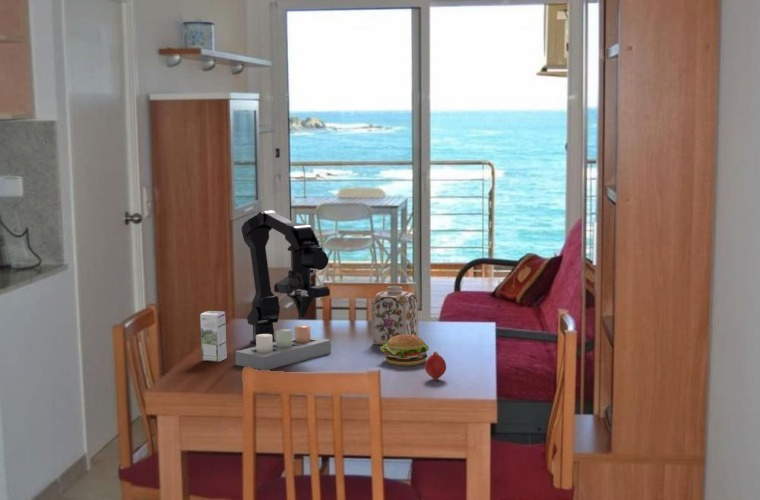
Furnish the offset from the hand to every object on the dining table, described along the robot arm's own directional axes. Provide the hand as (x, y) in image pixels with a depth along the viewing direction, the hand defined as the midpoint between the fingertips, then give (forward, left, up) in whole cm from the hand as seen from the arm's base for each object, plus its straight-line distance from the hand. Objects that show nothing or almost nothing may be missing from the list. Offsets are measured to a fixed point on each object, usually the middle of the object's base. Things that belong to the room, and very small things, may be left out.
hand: (302, 317), depth 312 cm
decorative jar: (+12, +30, -12) cm, 34 cm away
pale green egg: (0, -8, -9) cm, 12 cm away
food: (+31, +11, -12) cm, 35 cm away
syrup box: (-16, -22, -12) cm, 29 cm away
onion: (+51, 0, -12) cm, 52 cm away
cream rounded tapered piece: (0, -16, -9) cm, 19 cm away
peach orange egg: (0, 0, -9) cm, 9 cm away
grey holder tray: (0, -8, -11) cm, 14 cm away
